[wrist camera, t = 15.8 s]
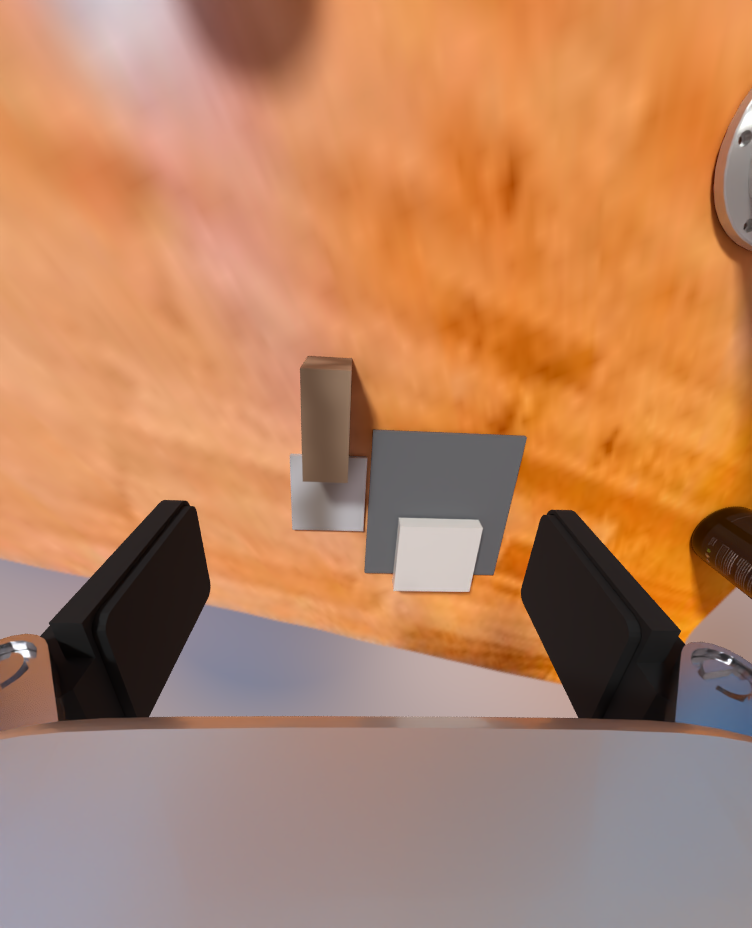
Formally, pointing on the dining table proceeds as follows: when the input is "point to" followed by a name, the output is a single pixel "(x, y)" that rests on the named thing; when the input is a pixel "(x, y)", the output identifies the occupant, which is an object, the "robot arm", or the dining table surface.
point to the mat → (440, 487)
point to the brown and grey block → (327, 452)
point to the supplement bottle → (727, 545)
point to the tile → (435, 554)
